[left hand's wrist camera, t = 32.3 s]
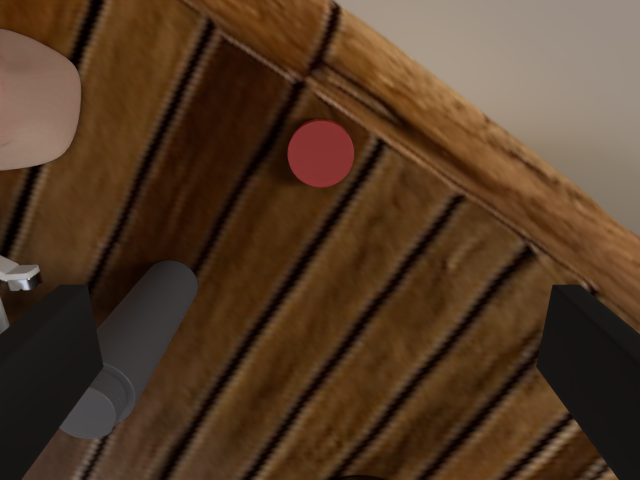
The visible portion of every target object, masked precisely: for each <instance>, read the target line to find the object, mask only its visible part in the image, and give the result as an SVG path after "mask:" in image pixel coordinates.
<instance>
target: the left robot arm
mask: <svg viewBox="0 0 640 480" xmlns="http://www.w3.org/2000/svg"><path fill="white" fill-rule="evenodd" d="M103 367H104V365H103V361H102V356H101V351H100V346H99V341H98V336H97V331H96V326H95V321H94V316H93V311H92V306H91V301H90V296H89V291H88V286H87V285H59V286H58V287H57V288H56V289H54V290H53V291H52V292H51V293H50V294H48V295H47V296H46V297H45V298H44V299H42V300H41V301H40V302H39V303H37V304H36V305H35V306H34V307H33V308H31V309H30V310H29V311H28V312H27V313H25V314H24V315H23V316H22V317H20V318H19V319H18V320H17V321H16V322H14V323H13V324H12V325H11V326H9V327H8V328H7V329H6V330H5V331H3V332H2V333H1V334H0V480H21V479H22V478H23V476H24V475H25V474H26V472H27V471H28V470H29V468H30V467H31V466H32V464H33V463H34V461H35V460H36V459H37V457H38V456H39V455H40V453H41V452H42V450H43V449H44V448H45V446H46V445H47V444H48V442H49V441H50V440H51V438H52V437H53V435H54V434H55V433H56V431H57V430H58V429H59V427H60V426H61V425H62V423H63V422H64V420H65V419H66V418H67V416H68V415H69V414H70V412H71V411H72V409H73V408H74V407H75V405H76V404H77V403H78V401H79V400H80V399H81V397H82V396H83V394H84V393H85V392H86V390H87V389H88V388H89V386H90V385H91V383H92V382H93V381H94V379H95V378H96V377H97V375H98V374H99V373H100V371H101V370H102V368H103ZM536 367H537V368H538V370H539V371H540V373H541V374H542V375H543V377H544V378H545V379H546V381H547V382H548V383H549V385H550V386H551V388H552V389H553V390H554V392H555V393H556V394H557V396H558V397H559V399H560V400H561V401H562V403H563V404H564V405H565V407H566V408H567V409H568V411H569V412H570V414H571V415H572V416H573V418H574V419H575V420H576V422H577V423H578V425H579V426H580V427H581V429H582V430H583V431H584V433H585V434H586V435H587V437H588V438H589V440H590V441H591V442H592V444H593V445H594V446H595V448H596V449H597V450H598V452H599V453H600V455H601V456H602V457H603V459H604V460H605V461H606V463H607V464H608V466H609V467H610V468H611V470H612V471H613V472H614V474H615V475H616V476H617V478H618V479H619V480H640V334H639V333H638V332H637V331H635V330H634V329H633V328H632V327H631V326H629V325H628V324H627V323H626V322H624V321H623V320H622V319H621V318H620V317H618V316H617V315H616V314H615V313H613V312H612V311H611V310H610V309H609V308H607V307H606V306H605V305H604V304H603V303H601V302H600V301H599V300H598V299H596V298H595V297H594V296H593V295H592V294H590V293H589V292H588V291H587V290H586V289H584V288H583V287H582V286H581V285H553V286H552V291H551V296H550V301H549V306H548V311H547V316H546V321H545V326H544V331H543V336H542V341H541V346H540V351H539V356H538V361H537V365H536ZM339 480H383V479H378V478H373V477H348V478H343V479H339Z"/></svg>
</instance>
